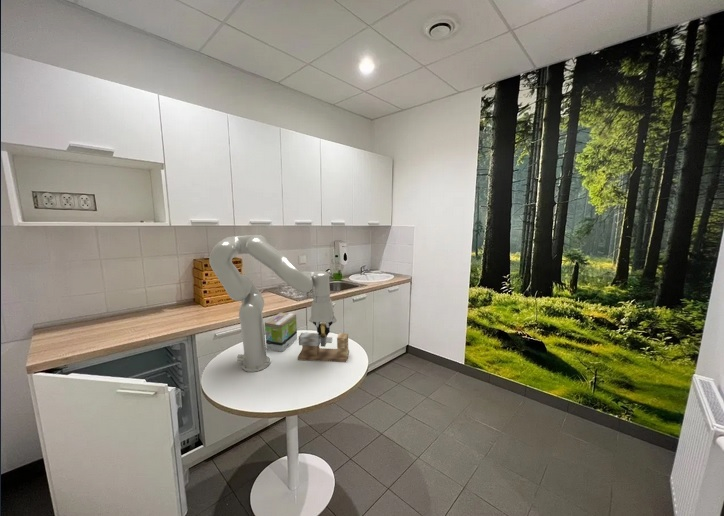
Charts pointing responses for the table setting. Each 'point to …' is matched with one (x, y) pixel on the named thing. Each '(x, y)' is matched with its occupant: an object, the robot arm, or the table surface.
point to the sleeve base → (317, 349)
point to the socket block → (342, 345)
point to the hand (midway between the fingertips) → (323, 333)
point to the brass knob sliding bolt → (324, 335)
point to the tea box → (281, 331)
